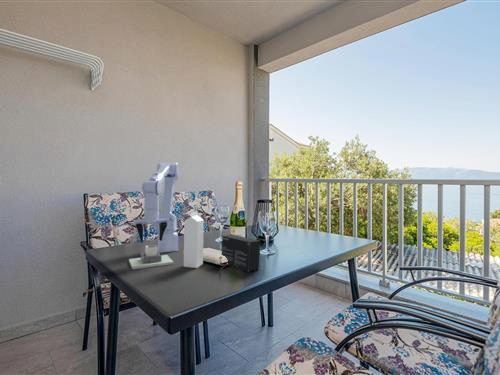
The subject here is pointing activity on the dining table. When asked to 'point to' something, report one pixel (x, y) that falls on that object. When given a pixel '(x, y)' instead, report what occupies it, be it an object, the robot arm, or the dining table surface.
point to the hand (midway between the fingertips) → (151, 241)
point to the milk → (193, 241)
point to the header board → (150, 261)
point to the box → (241, 252)
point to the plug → (150, 250)
